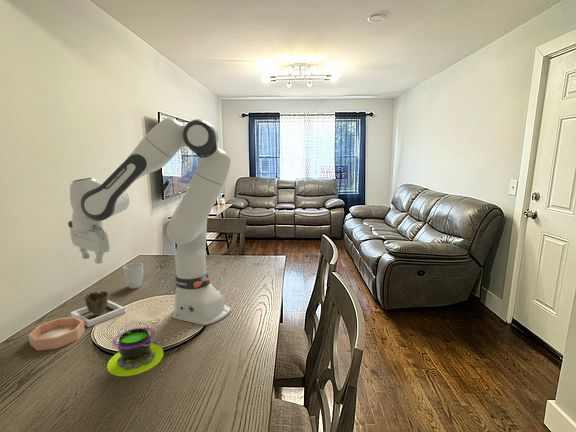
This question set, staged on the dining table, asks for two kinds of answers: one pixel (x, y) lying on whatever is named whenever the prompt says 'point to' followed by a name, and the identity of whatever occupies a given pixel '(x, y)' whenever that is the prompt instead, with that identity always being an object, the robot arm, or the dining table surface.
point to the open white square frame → (89, 323)
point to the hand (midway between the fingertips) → (92, 260)
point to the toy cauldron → (134, 352)
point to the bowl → (56, 333)
